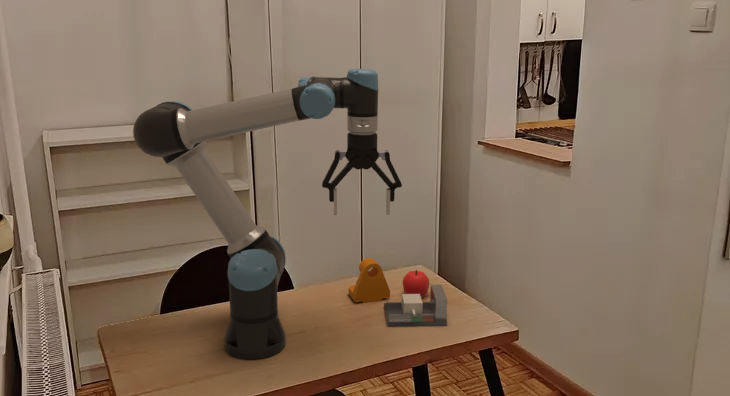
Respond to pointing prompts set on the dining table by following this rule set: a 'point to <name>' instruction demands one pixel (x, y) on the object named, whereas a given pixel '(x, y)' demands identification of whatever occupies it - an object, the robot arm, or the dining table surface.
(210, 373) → the dining table surface
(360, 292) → the bracket
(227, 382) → the dining table surface
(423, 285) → the apple
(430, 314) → the gauge base
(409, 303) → the cream block with peg
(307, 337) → the dining table surface
